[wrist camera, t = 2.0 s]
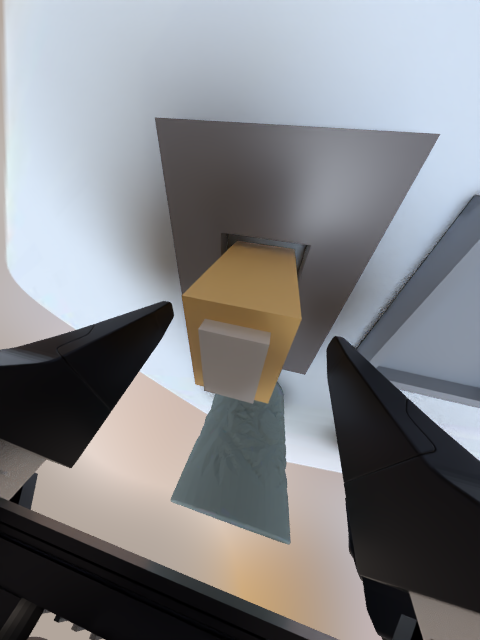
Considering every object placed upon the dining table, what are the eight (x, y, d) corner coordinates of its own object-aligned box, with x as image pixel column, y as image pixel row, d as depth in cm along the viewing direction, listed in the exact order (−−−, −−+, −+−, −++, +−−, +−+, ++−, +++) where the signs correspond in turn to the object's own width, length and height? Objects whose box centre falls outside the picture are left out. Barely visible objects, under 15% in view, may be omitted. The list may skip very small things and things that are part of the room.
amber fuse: (276, 314, 15) (266, 415, 8) (232, 306, 15) (190, 394, 9) (294, 249, 11) (302, 331, 5) (237, 240, 12) (172, 304, 5)
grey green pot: (290, 370, 19) (292, 544, 10) (288, 414, 25) (289, 547, 15) (208, 363, 22) (148, 493, 12) (224, 403, 27) (191, 512, 18)
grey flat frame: (303, 362, 18) (304, 374, 16) (196, 337, 19) (190, 347, 18) (416, 142, 8) (440, 134, 6) (171, 126, 9) (154, 117, 8)
